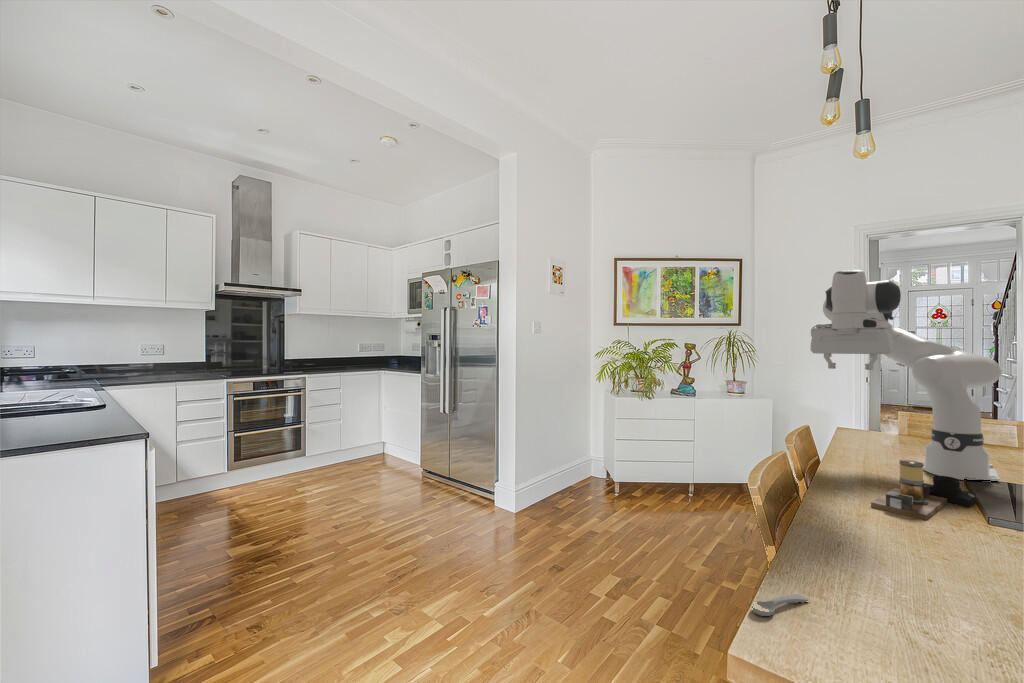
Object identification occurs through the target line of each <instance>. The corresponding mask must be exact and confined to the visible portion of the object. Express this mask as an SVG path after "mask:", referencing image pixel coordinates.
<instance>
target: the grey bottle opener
mask: <svg viewBox="0 0 1024 683" xmlns="http://www.w3.org/2000/svg"><path fill="white" fill-rule="evenodd" d="M808 600H809V601H810V599H809V598H807V597H806V596H803V595H801V594H789V595H783V596H778V597H776V598H773V599H770V600H768V601H760V600H759V601H756V602H757V604H758V605H760V606H761V607H762V608H765V609H768V610H769V612H765V611H760V610H758V609H755V608H753V606H752V608H753V611H754V612H755V613H757V614H759V615H761V616H760V617H762V616H769V617H771V616H770V615H772V616H773V615H774V614H775V612H776V608H777V607H779V606H781V605H783V604H792V603H795V604H797V603H798V602H806V601H808ZM798 604H799V603H798ZM751 605H752V603H751ZM751 605H750V606H751ZM753 605H754V604H753ZM753 611H752V612H753ZM754 612H753V613H754ZM755 613H754V614H755ZM757 614H756V615H757ZM759 615H758V616H759Z"/></svg>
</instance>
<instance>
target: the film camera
mask: <svg viewBox="0 0 1024 683" xmlns="http://www.w3.org/2000/svg"><path fill="white" fill-rule="evenodd" d="M932 483H933V484H931V483H925V482H924V484H926V485H930V495H932V496H937V497H942V498H947V504H949V505H956V506H960V507H964V508H971V506H972V505H974V504H975V503H976V501H977V499H978V497H977V494H975V493H974V492H971V491H965V490H963V489H962V488H961V483H960V479H956V478H953V477H948V476H939V475H934V476H933V477H932Z"/></svg>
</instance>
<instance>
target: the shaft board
mask: <svg viewBox="0 0 1024 683" xmlns="http://www.w3.org/2000/svg"><path fill="white" fill-rule="evenodd" d="M926 484H927V483H925V484H924V486H923V499H924V503H913V497H912V496H908V495H904V494H901V495H900V488H896V487H894V488H893V489H891V490H889V491H888V492H886V493H885V494H884V493H883V495H881V496H878V498H876V499H874V500H873V501H871V502H870V507H871V508H875V509H879V510H883V511H888V512H892V513H895V514H898V515H899V514H900V515H904V516H908V517H913V518H916V519H917V518H918V519H921V520H925V521H927V520H929V519H930V518H931V517H932V516H933V515H934V514H936V513H937V512H938V511H939V510H941V509H942V508H943V507H945V506H946V505H947V504H948V503H947V498H942V497H937V496H932V495H930V485H926Z"/></svg>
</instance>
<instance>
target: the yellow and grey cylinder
mask: <svg viewBox="0 0 1024 683" xmlns="http://www.w3.org/2000/svg"><path fill="white" fill-rule="evenodd" d="M898 462H899V478H898V479H899V489H900V495H901V494H904V495H908V496H912V497H913V503H924V499H923V486H924V483H925V482H924V481H925V480H924V470H923V466H924V464H925V463H923V462H921V461H917V460H911V459H909V460H908V459H900V460H898Z"/></svg>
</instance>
